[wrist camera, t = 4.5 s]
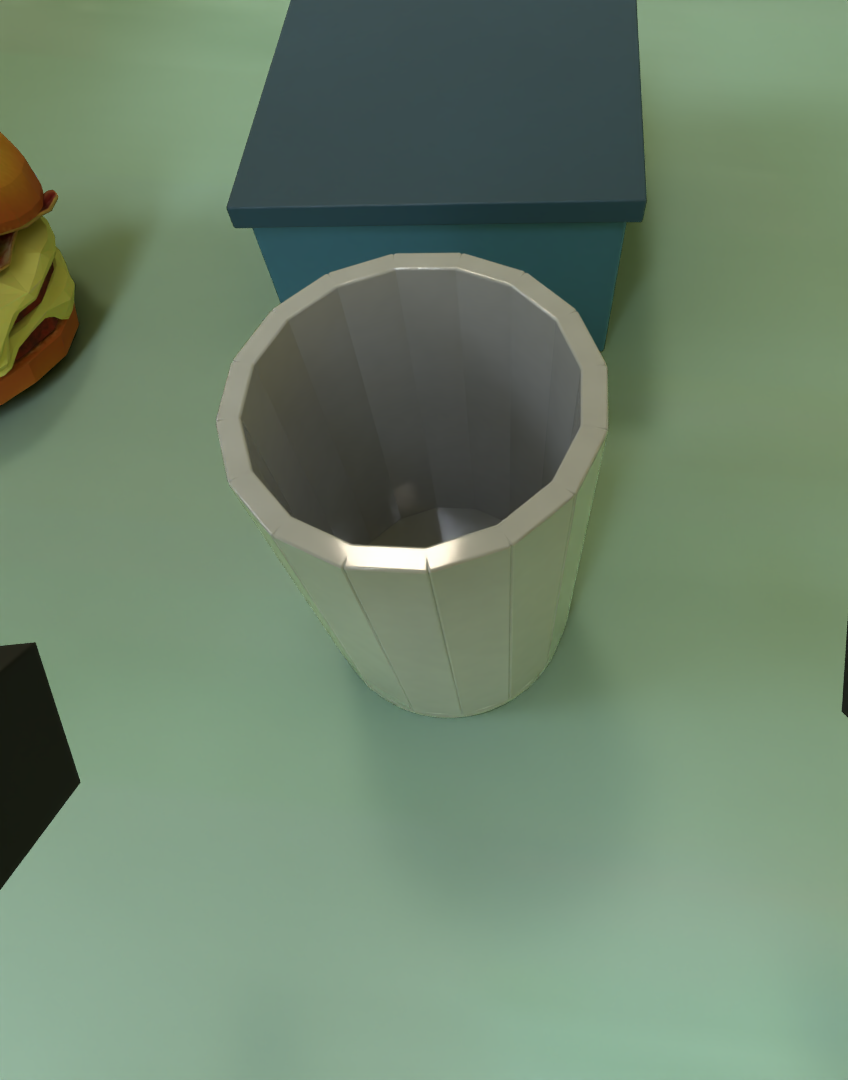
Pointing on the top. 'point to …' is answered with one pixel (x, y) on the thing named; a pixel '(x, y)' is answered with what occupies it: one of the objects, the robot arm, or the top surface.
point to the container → (450, 140)
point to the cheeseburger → (30, 279)
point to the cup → (424, 468)
